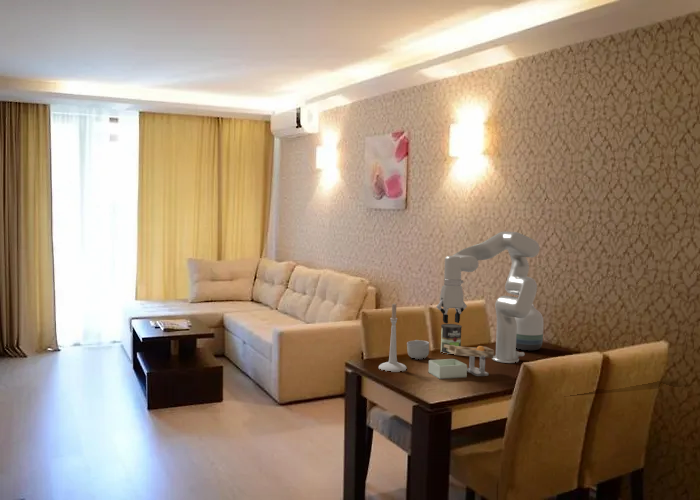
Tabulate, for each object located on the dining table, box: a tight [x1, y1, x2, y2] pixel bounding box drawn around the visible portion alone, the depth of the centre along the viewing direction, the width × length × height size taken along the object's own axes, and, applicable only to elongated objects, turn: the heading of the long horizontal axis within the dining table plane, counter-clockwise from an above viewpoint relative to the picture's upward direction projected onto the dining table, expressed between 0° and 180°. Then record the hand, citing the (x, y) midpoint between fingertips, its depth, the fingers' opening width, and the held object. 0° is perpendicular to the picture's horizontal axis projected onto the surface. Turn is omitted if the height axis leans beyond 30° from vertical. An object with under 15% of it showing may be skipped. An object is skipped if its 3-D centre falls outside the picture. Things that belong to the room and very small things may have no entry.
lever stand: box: [467, 355, 490, 377], centre depth 263 cm, size 6×11×9 cm, turn 17°
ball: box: [476, 345, 485, 351], centre depth 263 cm, size 4×4×4 cm
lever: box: [444, 344, 495, 359], centre depth 265 cm, size 19×15×4 cm
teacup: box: [406, 339, 430, 360], centre depth 290 cm, size 14×11×8 cm
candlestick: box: [378, 303, 408, 373], centre depth 267 cm, size 13×13×30 cm
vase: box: [515, 303, 544, 352], centre depth 314 cm, size 17×17×24 cm
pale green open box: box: [428, 358, 468, 380], centre depth 259 cm, size 13×11×6 cm
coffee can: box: [440, 323, 463, 355], centre depth 302 cm, size 10×10×14 cm
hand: (451, 322), depth 268 cm, fingers open, 5 cm apart
